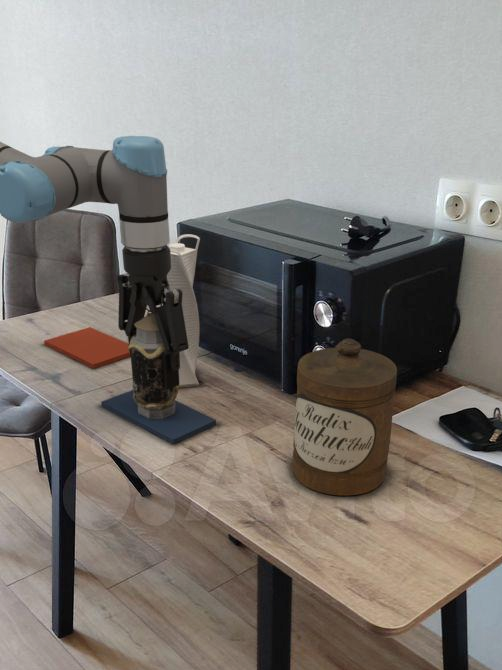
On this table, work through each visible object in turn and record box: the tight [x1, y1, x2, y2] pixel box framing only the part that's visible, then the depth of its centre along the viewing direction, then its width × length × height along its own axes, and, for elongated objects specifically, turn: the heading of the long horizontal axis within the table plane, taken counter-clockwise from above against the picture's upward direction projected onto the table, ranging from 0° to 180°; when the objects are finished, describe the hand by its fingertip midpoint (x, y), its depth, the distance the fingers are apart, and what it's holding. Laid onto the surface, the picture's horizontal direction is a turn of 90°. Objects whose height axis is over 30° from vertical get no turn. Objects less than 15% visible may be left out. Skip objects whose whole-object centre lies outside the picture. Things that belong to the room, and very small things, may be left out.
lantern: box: [128, 294, 179, 419], centre depth 119 cm, size 9×8×25 cm
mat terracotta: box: [43, 326, 131, 369], centre depth 152 cm, size 18×12×1 cm, turn 48°
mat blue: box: [100, 389, 217, 445], centre depth 126 cm, size 20×10×1 cm, turn 47°
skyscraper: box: [162, 233, 201, 389], centre depth 132 cm, size 8×8×28 cm
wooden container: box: [292, 338, 398, 496], centre depth 106 cm, size 15×15×22 cm
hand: (155, 378), depth 123 cm, fingers closed on lantern, 8 cm apart
